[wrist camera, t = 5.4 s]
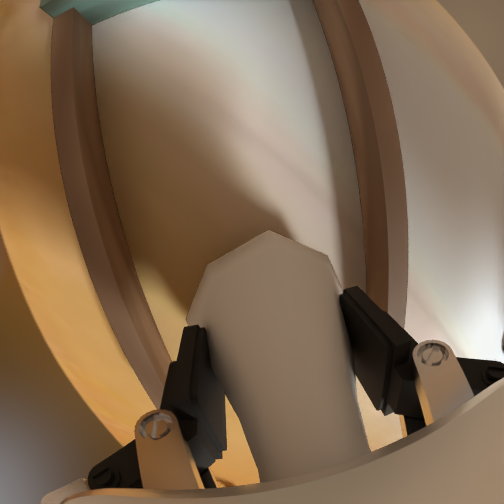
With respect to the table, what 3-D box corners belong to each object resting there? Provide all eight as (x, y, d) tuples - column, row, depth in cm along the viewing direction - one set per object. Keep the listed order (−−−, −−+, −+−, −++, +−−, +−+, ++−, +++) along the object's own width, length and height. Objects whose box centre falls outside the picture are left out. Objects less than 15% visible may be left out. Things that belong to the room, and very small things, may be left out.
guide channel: (310, -44, 8) (330, -80, 5) (382, 333, 16) (413, 369, 12) (75, 1, 8) (47, -27, 4) (164, 383, 16) (154, 430, 12)
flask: (270, 388, 14) (308, 554, 5) (159, 317, 12) (97, 526, 3) (368, 298, 13) (500, 442, 3) (266, 197, 11) (455, 347, 2)
